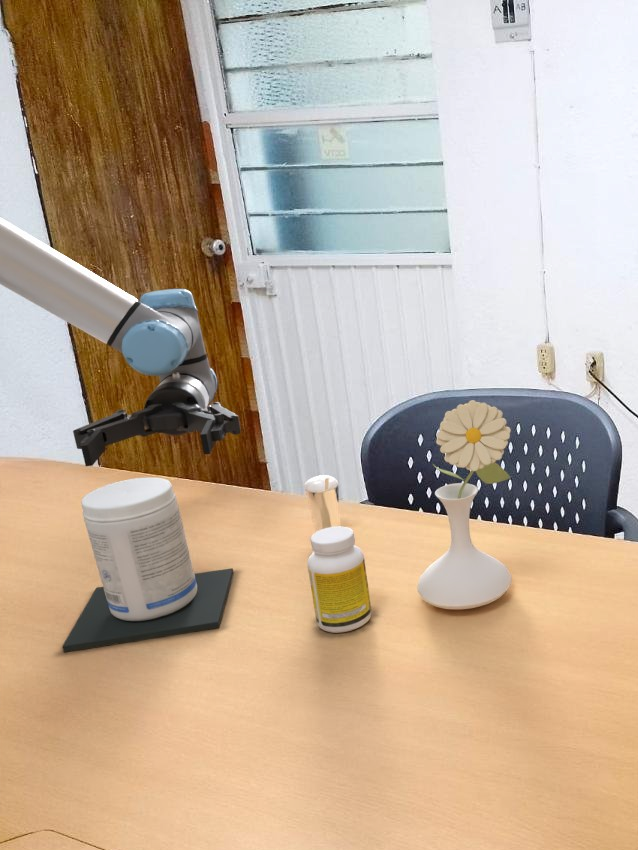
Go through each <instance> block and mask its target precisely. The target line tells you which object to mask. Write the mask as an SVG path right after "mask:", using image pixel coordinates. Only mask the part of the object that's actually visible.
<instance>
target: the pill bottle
mask: <svg viewBox="0 0 638 850" xmlns="http://www.w3.org/2000/svg"><path fill="white" fill-rule="evenodd" d="M310 545H311V550H312V553H310V555H309V557H308V559H307V562H306V563H307V570H308V572H307V573H308V577H309V578H308V579H309V584H310V590H311V597H312V602H313V609H314V614H315V619H316V623H317V626H318V628H320V629H321V630H322V631H324V632H327V633H333V634H335V633H336V634H337V633H346V632H350V631H354V630H356V629H358V628H360V627H363V626H365V624H366V623H368V621H370V619H371V617H372V606H371V605H372V604H371V599H370V598H371V597H370V590H369V583H368V576H367V575H368V574H367V568H366V562H365V561H366V559H365V556H364V552H363V551H362V549H361V548H360V547H359V546H357V545H356V537H355V532H354V530H353V529H352V528H350V527H348V526H347V527H346V526H341V525H340V526H336V527H329V528H325V529H321V530H319V531H317V532H315V531H314V532H313V534H312V535H311V536H310Z"/></svg>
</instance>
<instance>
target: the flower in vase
mask: <svg viewBox="0 0 638 850" xmlns="http://www.w3.org/2000/svg"><path fill="white" fill-rule="evenodd" d="M503 415H504V413H503V411H502V410H501V409H498V408H497V406H491V405H490V404H487V403H486V402H480V401H476V400H475V399H472V400H469V401H468V402H466V403H464V404H462V403H459V404H458V405H457V406H456V408H453V409H451V410H447V411H446V412H445V414H444V417H443V419H442V421H441V422H440V423H439V428H438V432H437V433H436V440H435V442H436V444H437V445H438V446H439V451H440V453H442V454H444V461H445V462H446V463H449V464H450V465H451V466H454V465H455V466H456V467H457V468H462V469H464V468H465V469H466V470H468V471H470V472H469V474H468V475H467V476H466V478H465V479H464V478H462V477H461V476H460V475H458V474H456V473H455V472H452V471H449V470H446V469H443V468H440V467H437V466H436V465H435V464H433V467H434V468H435V469H436V470H437V471H439V472H440V473H443V474H445V475H447V476H451V477H453V478H456V479H459V480H461V481H463V482H457V483H456V482H455V483H449V484H445V485H443V486H441V487H438V488H437V489H436V490H435V492H434V496H435V497H436V498H437V499H439V501H440V502H441V503H442V505H443V507H444V508H445V509H444V510H445V512H446V514H447V518H448V522H449V528H450V529H449V530H450V546H449V548H448V550H447V551H446V552H445V553H444V554H443V555H441V556H440V557H439V558H437V559H436V560H435V561H434V562H433V563H431V564H430V565H429V566H428V567H427V568H426V569H425V570H424V571H423V573H422V574H421V575H420V577H419V579H418V583H417V587H416V589H417V593H418V595H419V596H420V598H422V599H423V601H425V602H426V603H427V604H429V605H431V606H434V607H436V608H440V609H444V610H469V609H474V608H479V607H483V606H486V605H488V604H491V603H493V602H495V601H497V600H498V599H500V598H501V597H502V596H503V595H505V593H506V592H507V591H508V589H509V588H510V586H511V584H512V574H511V573H510V571H509V569H508V568H507V566H506V564H504V563H503V562H501V561H500V560H499V559H498V558H496V557H494V556H492V555H490V554H488V553H486V552H484V551H483V550H480V549H478V548H477V547H475V545H474V544H473V541H472V538H471V530H470V513H471V506H472V503H473V500H474V499H475V497H476V496H477V494H478V492H479V487H477V485H475V484H472V483H468V482H469V480H470V479H471V477H472V476H473V474H474V472H475V473H476V475H477V476H478V478H479V479H480V480H481V481H482V482H483V483H484V484H488V485H492V484H498V483H500V482H504V481H506V480H509V479H511V476H510V474H509V473H508V472H507V471H506V470H505V469H504V468H502V467H501V466H500V464H498V463H496V461H500V460H501V459H502V458H503V455H504V453H505V450H504V449H506V447H507V446H508V445H509V441H508V440H509V439H510V437H511V431H512V429H511V427H510V426H507V419H506V418H504V417H503Z"/></svg>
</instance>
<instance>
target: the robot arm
mask: <svg viewBox="0 0 638 850" xmlns="http://www.w3.org/2000/svg"><path fill="white" fill-rule="evenodd" d="M0 285H1V286H3V287H5V288H6V289H8V290H10V291H12V292H13V293H15V294H16V295H18V296H20V297H22V298H24V299H25V300H27V301H29V302H30V303H33V304H34V305H36V306H38V307H40V308H41V309H43V310H45V311H46V312H49V313H50V314H52V315H54V316H55V317H57V318H59V319H61V320H63V321H65V322H67V323H68V324H70V325H72V326H73V327H75V328H77V329H79V330H80V331H82V332H84V333H86V334H87V335H89V336H91V337H92V338H94V339H97V340H98V341H100V342H101V343H103V344H105V345H107V346H109V347H110V348H112V349H113V350H116V351H117V352H119V353H120V354H122V356H123V358H124V359H125V362H126V363H127V364H128V365H129V366H130V367H131V368H132V369H133V370H134V371H136V372H138V373H140V374H143V375H146V376H151V377H153V376H155V377H158V380H159V384H158V385H157V386H156V388H154V390H153V391H152V392H151V393H150V395H148V396H147V399H146V400H145V403H144V407H143V409H140V410H137V411H134V412H132V413H131V414H128V412H127V410H125V409H119V410H116V411H115V412H114V413H112V414H111V415H108V416H106V417H102V418H100V419H98V420H96V421H93V422H90V423H88V424H86V425H83V426H81V427H78V428H76V429H73V430H72V433H73V436H74V443H75V445H76V450H81V452H82V457H83V460H84V461H83V462H84V466H85V467H92V466H94V465H95V463H96V462H97V461H98V460H99V459H100V457H101V456H102V455H103V454H104V453H105V451H106V450H107V446H110V445H113V444H116V443H119V442H122V441H125V440H129V439H131V438H135V437H142V438H144V437H147V436H151V435H153V434H163V435H166V436H172V437H177V436H178V437H179V436H184V435H187V434H188V433H193V432H199V436H200V442H201V447H202V453H203V455H211V453H212V450H213V448H214V446H215V444H216V442H219V441H223V439H224V438H225V437H227V434H228V433H230V434H231V435H240V434H241V433H242V430H241V424H240V418H239V417H240V416H239V415H238V414H236V413H234V412H233V411H230V409H227V408H225V407H223V406H221V405H222V404H221V402H219V401H213V400H214V399H215V397H216V394H217V390H218V378H217V374H216V373H215V371H214V369H213V368H212V367H211V366H210V362H209V358H208V355H207V352H206V348H205V347H206V346H205V342H204V338H203V333H202V329H201V323H200V319H199V314H198V313H199V310H198V308H197V307H196V303H195V300H194V296H193V294H192V292H191V291H190V290H188V289H185V288H169V289H161V290H155V291H150V292H146V293H143V294H142V295H141V296H140V298H139V299H137V298H136V297H135V296H133V295H131V294H129V293H128V292H125V291H124V290H122V289H121V288H119V287H117V286H116V285H114V284H113V283H111V282H109V281H107V280H106V279H105V278H102V277H100V276H99V275H98V274H95V273H94V272H93V271H91V270H90V269H88V268H86V267H84V266H83V265H81V264H79V263H78V262H77V261H74V260H72V259H71V258H69V257H68V256H66V255H64V254H62V253H61V252H59V251H58V250H56V249H54V248H53V247H51V246H49V245H47V244H46V243H44V242H43V241H41V240H39V239H38V238H36V237H34V236H33V235H31V234H29V233H28V232H26V231H25V230H22V229H21V228H19V227H18V226H16V225H14V224H13V223H12V222H9V221H7V220H6V219H4V218H3V217H1V216H0ZM212 401H213V402H212Z"/></svg>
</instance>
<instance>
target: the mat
mask: <svg viewBox="0 0 638 850" xmlns="http://www.w3.org/2000/svg"><path fill="white" fill-rule="evenodd" d="M194 574H195V579H196V583H197V592H196V595H195V597H194V598H193V599H192V600H191V601H190V602H189V603H188V604H187V605H186V606H184V607H183V608H181V609H179V610H178V611H175V612H173V613H171V614H168V615H165V616H161V617H158V618H155V619H151V620H145V621H126V620H121V619H119V618H116V617H115V616H114V615H113V614H112V613H111V612H110V609H109V605H108V602H107V598H106V595H105V591H104V588H103V586H97V587H96V588H95V589H94V591H93V593H92V595H91V596H90V597H89V599H88V601H87V603H86V605H85V606H84V608H83V609H82V612H80V615H79V617H78V618H77V620H76V621H75V623H74V626H73V627H72V629H71V631H70V632H69V633H68V636H67V638H65V641H64V643H63V644H62V645H61V646H62V647H61V648H62V651H63V653H68V652H75V651H81V650H87V649H93V648H101V647H107V646H112V645H118V644H127V643H131V642H138V641H143V640H151V639H157V638H163V637H170V636H175V635H180V634H181V635H182V634H187V633H193V632H201V631H207V630H215V629H219V628H220V626H221V623H222V619H223V615H224V612H225V611H224V610H225V606H226V603H227V600H228V596H229V592H230V589H231V584H232V581H233V576H234V569H233V567H232V568H231V567H230V568H224V569H217V570H211V571H203V572H196V573H195V572H194Z"/></svg>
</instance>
